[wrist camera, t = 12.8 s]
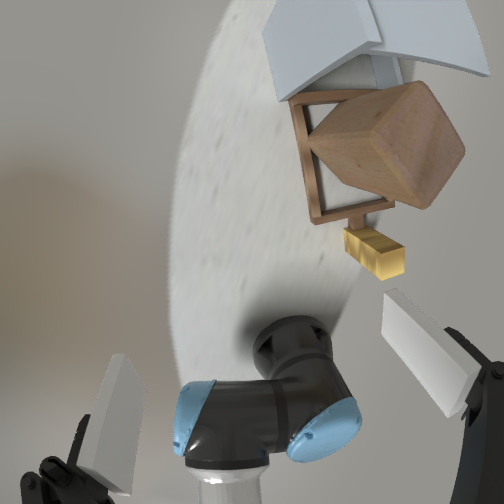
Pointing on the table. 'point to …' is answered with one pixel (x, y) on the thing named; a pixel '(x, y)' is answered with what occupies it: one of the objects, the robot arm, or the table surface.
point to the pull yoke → (358, 234)
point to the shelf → (368, 39)
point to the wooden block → (391, 144)
